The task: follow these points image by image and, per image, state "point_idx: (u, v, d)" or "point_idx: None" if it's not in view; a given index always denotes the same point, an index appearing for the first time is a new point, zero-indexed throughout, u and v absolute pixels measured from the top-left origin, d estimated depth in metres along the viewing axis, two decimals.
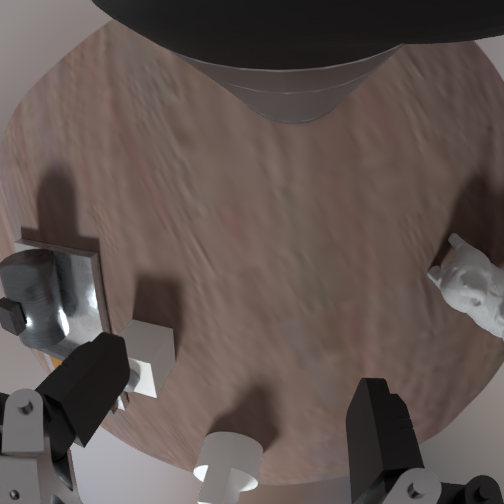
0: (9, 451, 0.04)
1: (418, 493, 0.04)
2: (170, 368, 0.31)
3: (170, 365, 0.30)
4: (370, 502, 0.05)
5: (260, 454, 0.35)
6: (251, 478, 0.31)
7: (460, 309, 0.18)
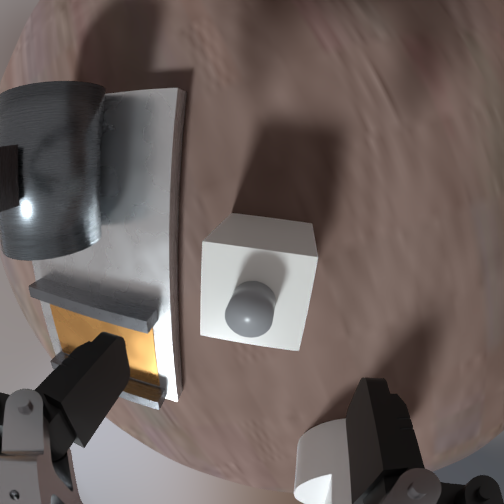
0: (9, 451, 0.04)
1: (418, 493, 0.04)
2: None
3: None
4: (370, 502, 0.05)
5: None
6: None
7: None
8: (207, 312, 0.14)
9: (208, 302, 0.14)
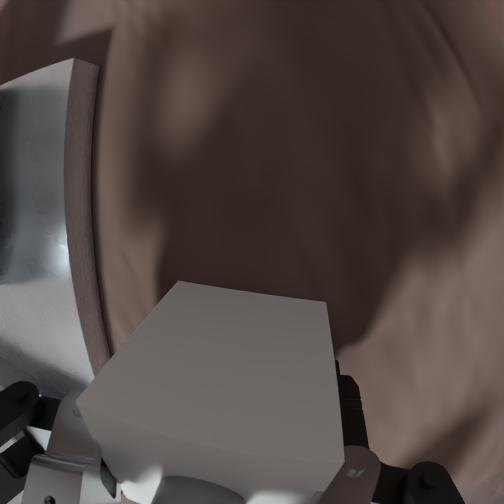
0: (54, 453, 0.04)
1: (353, 470, 0.05)
2: None
3: None
4: None
5: None
6: None
7: None
8: (126, 485, 0.06)
9: (123, 477, 0.05)
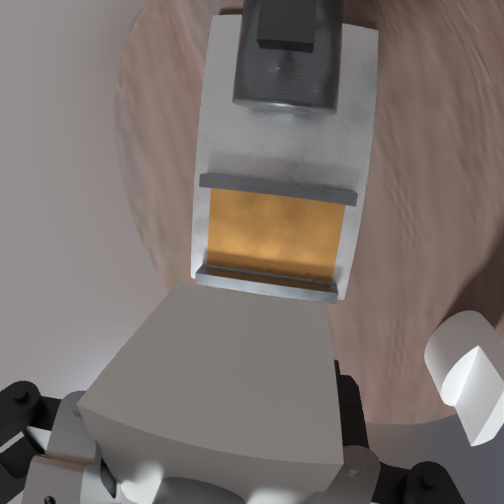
0: (54, 453, 0.04)
1: (352, 470, 0.05)
2: None
3: None
4: None
5: None
6: None
7: None
8: (127, 486, 0.06)
9: (124, 478, 0.05)
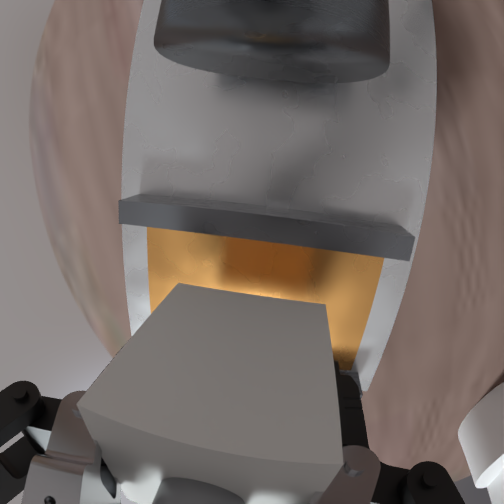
0: (54, 453, 0.04)
1: (353, 470, 0.05)
2: None
3: None
4: None
5: None
6: None
7: None
8: (127, 486, 0.06)
9: (124, 478, 0.05)
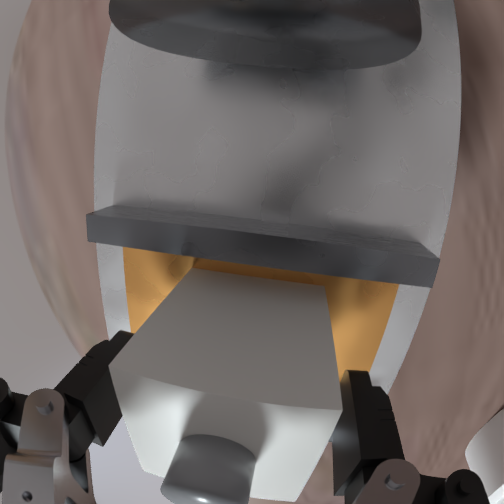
0: (25, 451, 0.04)
1: (395, 483, 0.04)
2: None
3: None
4: (350, 492, 0.05)
5: None
6: None
7: None
8: (145, 453, 0.07)
9: (143, 444, 0.07)
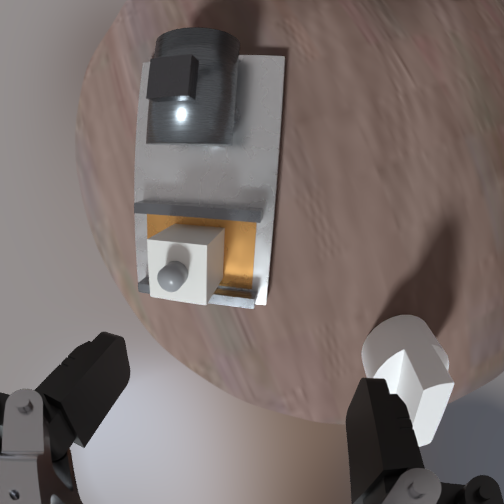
0: (9, 451, 0.04)
1: (418, 493, 0.04)
2: (219, 279, 0.28)
3: (219, 275, 0.28)
4: (370, 502, 0.05)
5: None
6: (444, 364, 0.24)
7: None
8: (152, 281, 0.24)
9: (152, 275, 0.24)
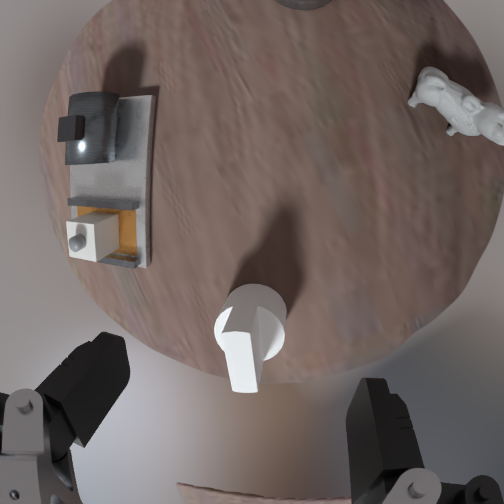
0: (9, 451, 0.04)
1: (418, 493, 0.04)
2: (113, 248, 0.39)
3: (113, 245, 0.39)
4: (370, 502, 0.05)
5: (285, 310, 0.40)
6: (278, 326, 0.36)
7: (432, 97, 0.25)
8: (70, 246, 0.35)
9: None
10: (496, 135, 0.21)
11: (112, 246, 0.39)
